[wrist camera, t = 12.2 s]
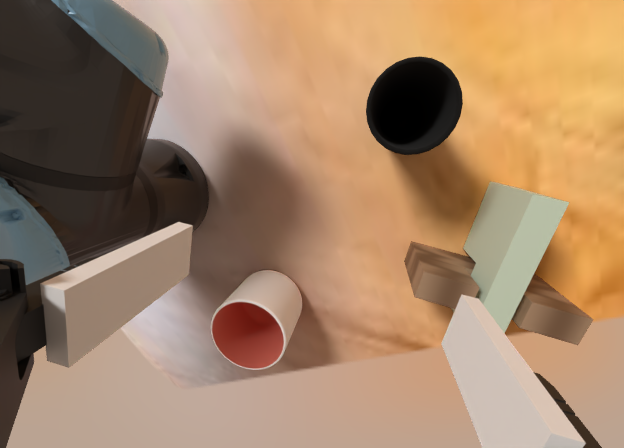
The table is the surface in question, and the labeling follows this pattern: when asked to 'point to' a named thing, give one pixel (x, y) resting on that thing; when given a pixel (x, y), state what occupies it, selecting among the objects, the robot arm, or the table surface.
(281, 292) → the cup
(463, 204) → the table surface
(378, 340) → the table surface
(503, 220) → the sage plate
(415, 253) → the walnut stand
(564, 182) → the table surface
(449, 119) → the cup
